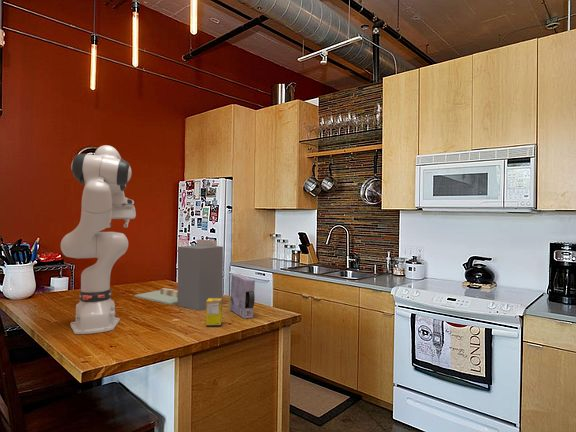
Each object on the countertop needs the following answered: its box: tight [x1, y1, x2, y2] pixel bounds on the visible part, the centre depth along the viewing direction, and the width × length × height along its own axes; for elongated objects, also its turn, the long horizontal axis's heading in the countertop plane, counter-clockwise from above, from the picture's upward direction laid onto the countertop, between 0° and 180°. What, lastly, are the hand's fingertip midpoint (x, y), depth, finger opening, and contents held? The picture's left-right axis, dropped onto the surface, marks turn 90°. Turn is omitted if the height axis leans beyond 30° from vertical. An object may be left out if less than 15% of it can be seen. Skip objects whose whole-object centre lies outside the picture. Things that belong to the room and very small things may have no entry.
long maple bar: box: [159, 287, 178, 298], centre depth 217 cm, size 20×3×3 cm
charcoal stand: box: [177, 244, 224, 311], centre depth 200 cm, size 16×16×30 cm
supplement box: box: [205, 298, 223, 328], centre depth 165 cm, size 6×6×11 cm
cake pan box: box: [229, 273, 256, 320], centre depth 183 cm, size 19×5×18 cm, turn 30°
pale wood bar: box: [196, 239, 218, 247], centre depth 204 cm, size 12×3×3 cm, turn 54°
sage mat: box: [134, 289, 178, 306], centre depth 216 cm, size 32×18×1 cm, turn 54°
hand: (117, 227), depth 202 cm, fingers open, 8 cm apart
